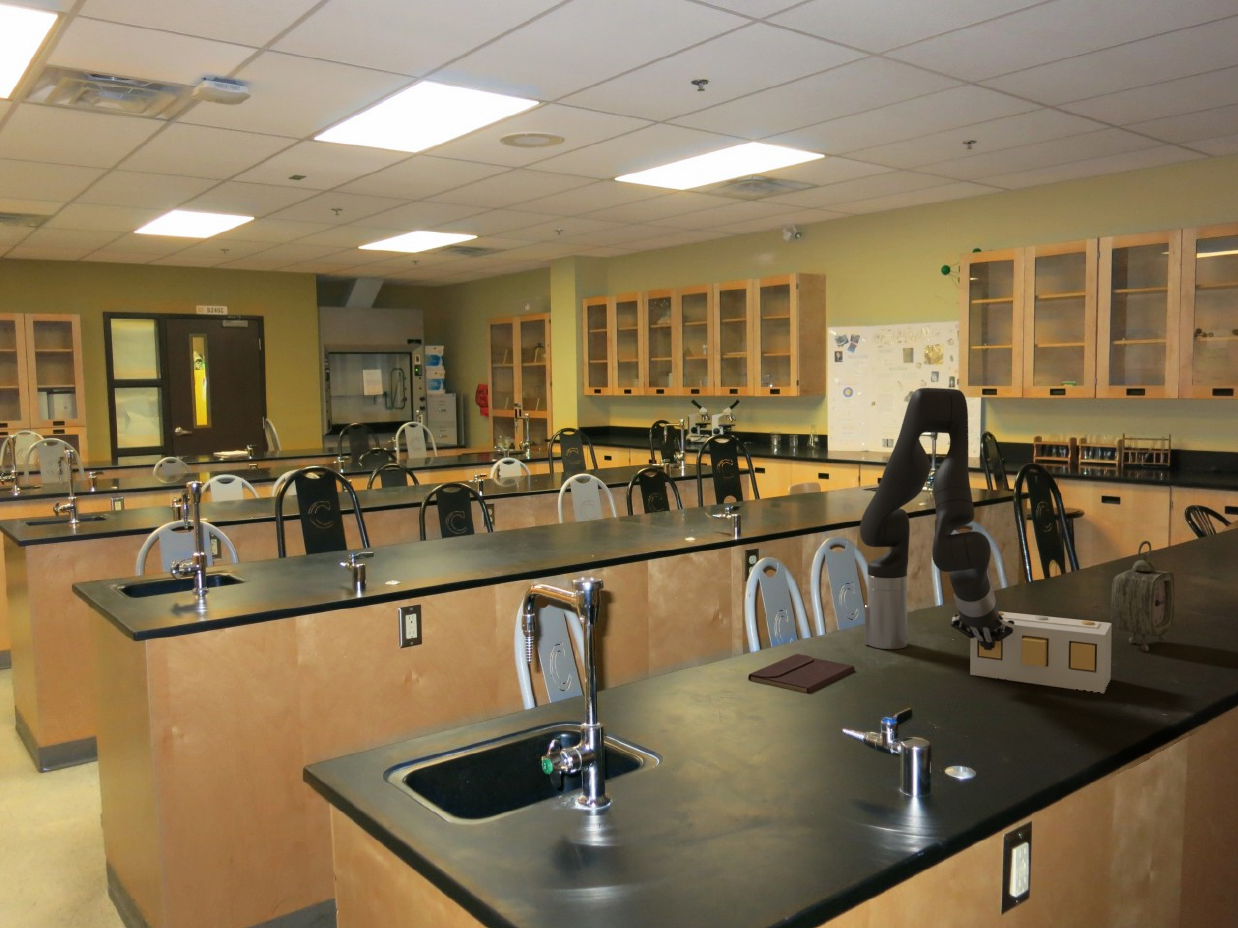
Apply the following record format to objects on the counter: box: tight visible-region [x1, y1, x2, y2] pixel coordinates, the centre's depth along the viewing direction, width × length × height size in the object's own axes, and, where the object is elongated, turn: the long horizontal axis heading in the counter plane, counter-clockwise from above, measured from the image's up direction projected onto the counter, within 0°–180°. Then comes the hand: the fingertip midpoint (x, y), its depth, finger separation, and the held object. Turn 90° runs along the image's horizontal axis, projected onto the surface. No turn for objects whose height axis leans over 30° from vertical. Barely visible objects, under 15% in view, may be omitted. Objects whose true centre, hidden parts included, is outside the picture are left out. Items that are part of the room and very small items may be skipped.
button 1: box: [979, 640, 1003, 659], centre depth 206 cm, size 4×3×5 cm
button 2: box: [1071, 641, 1097, 671], centre depth 196 cm, size 4×3×5 cm
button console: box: [969, 611, 1113, 694], centre depth 204 cm, size 26×11×12 cm, turn 57°
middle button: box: [1022, 636, 1047, 667], centre depth 199 cm, size 4×3×5 cm
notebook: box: [747, 653, 856, 694], centre depth 209 cm, size 15×20×2 cm
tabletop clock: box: [1110, 540, 1175, 653], centre depth 226 cm, size 14×9×25 cm, turn 131°
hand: (988, 646), depth 204 cm, fingers closed
